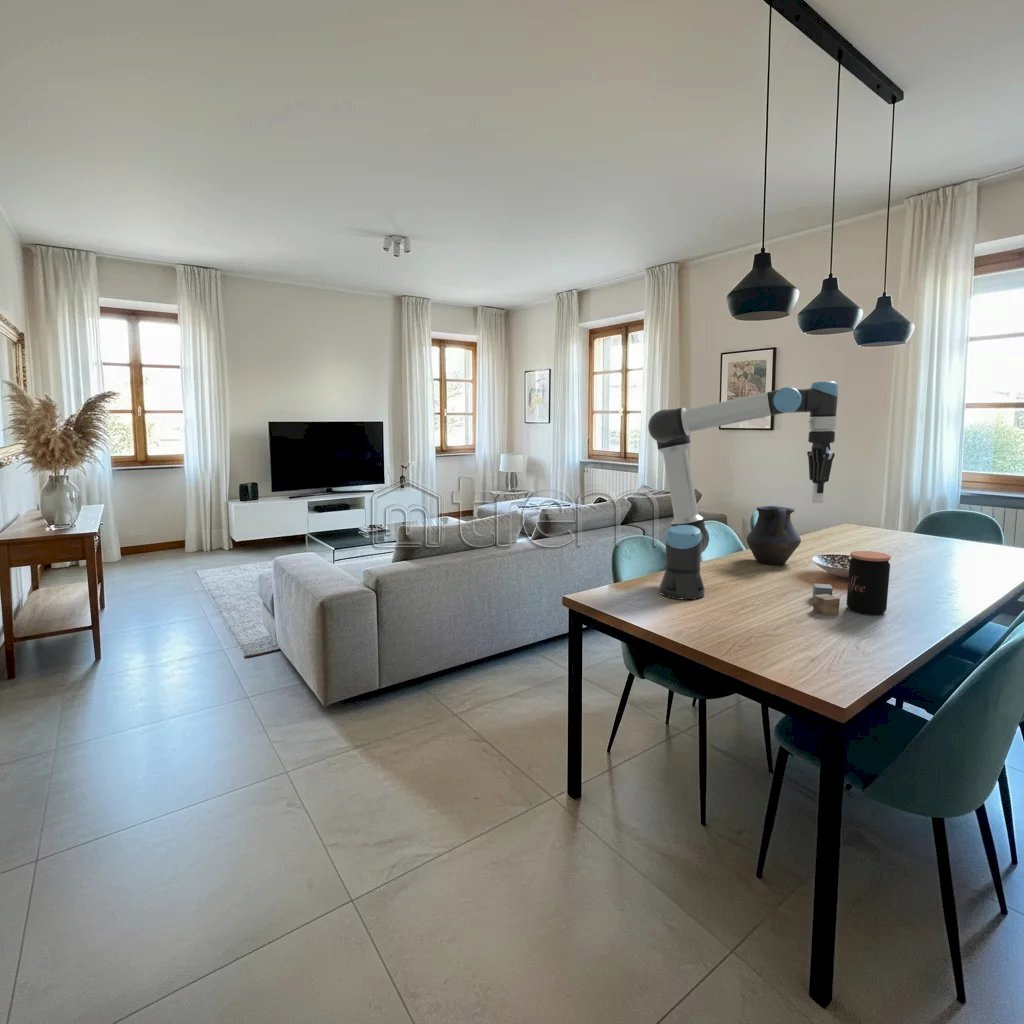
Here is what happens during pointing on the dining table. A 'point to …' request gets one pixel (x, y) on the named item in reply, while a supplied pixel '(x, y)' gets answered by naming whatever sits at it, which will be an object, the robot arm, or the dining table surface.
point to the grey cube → (822, 589)
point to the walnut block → (826, 604)
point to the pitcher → (773, 535)
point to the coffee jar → (868, 582)
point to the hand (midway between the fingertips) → (817, 502)
